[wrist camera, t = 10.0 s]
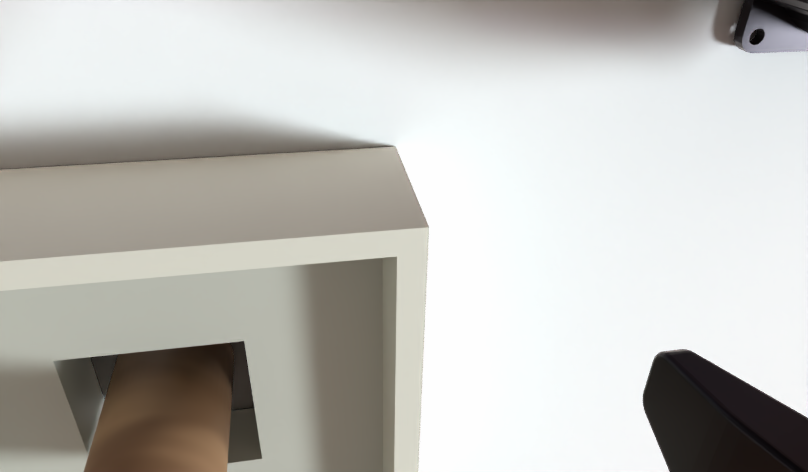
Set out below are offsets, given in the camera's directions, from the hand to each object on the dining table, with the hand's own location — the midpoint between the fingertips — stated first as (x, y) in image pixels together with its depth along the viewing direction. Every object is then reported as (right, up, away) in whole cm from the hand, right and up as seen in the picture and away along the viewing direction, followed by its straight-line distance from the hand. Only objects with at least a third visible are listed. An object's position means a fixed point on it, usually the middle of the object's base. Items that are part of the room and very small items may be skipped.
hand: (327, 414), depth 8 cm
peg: (-7, -2, +15) cm, 17 cm away
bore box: (-7, -2, +15) cm, 17 cm away
